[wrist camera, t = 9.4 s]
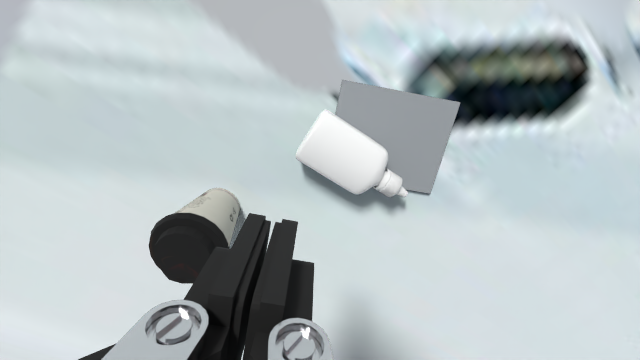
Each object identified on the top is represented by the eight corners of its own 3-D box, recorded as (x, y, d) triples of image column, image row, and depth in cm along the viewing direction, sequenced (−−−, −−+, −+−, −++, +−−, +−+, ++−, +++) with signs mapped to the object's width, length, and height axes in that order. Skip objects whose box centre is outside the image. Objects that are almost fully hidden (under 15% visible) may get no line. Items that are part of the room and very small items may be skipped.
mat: (458, 102, 31) (460, 102, 30) (428, 192, 34) (430, 193, 34) (342, 79, 30) (342, 79, 30) (323, 174, 33) (323, 175, 33)
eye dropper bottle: (317, 115, 32) (406, 173, 34) (290, 159, 31) (384, 217, 33) (328, 102, 28) (429, 169, 30) (298, 153, 27) (404, 218, 29)
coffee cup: (189, 173, 33) (138, 214, 24) (253, 183, 34) (227, 228, 24) (188, 228, 36) (140, 285, 26) (247, 237, 36) (221, 296, 27)
